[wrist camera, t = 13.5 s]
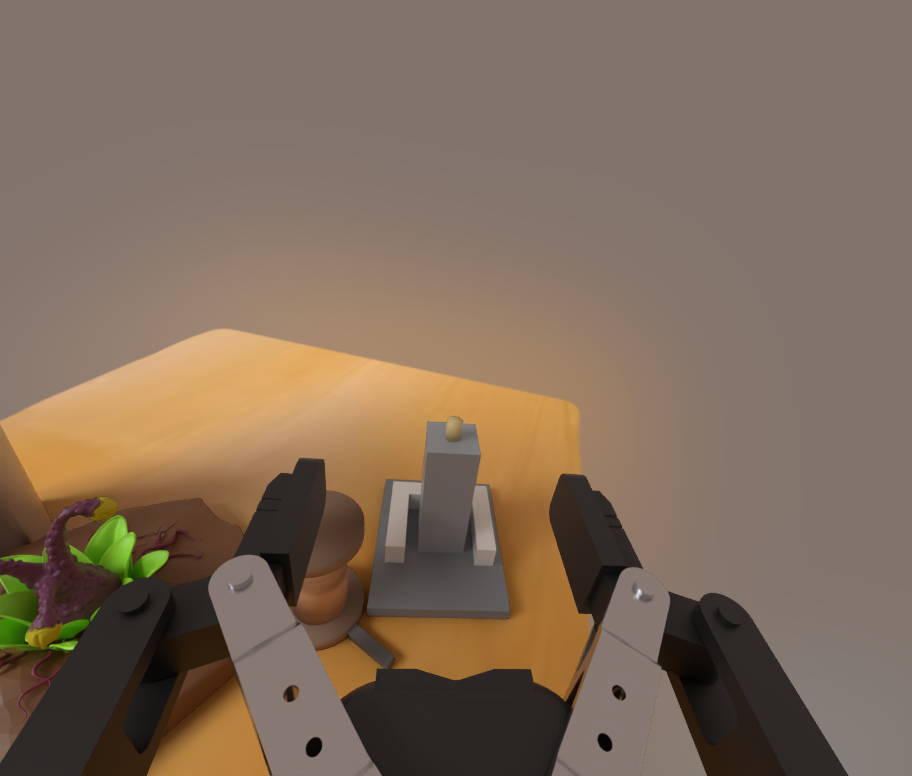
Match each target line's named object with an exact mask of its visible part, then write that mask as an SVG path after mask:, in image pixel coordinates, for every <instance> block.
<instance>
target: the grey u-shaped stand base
mask: <svg viewBox="0 0 912 776" xmlns="http://www.w3.org/2000/svg"><path fill="white" fill-rule="evenodd" d="M421 484H422V481H411V480H392V479H386V484H385V490H384V497H383V504H382V511H381V517H380V524H379V531H378V537H377V544H376V551H375V557H374V564H373V571H372V577H371V584H370V591H369V597H368V604H367V616H389V617H436V618H482V619H508V618H509V615H510V606H509V600H508V594H507V588H506V582H505V576H504V570H503V564H502V558H501V552H500V546H499V540H498V534H497V527H496V521H495V515H494V509H493V503H492V497H491V491H490V485H486V484H475V490H474V495H473V501H472V506H471V512H470V517H469V523H468V528H467V534H466V539H465V545H464V550H463V553H441V552H417V551H418V516H419V505H420V494H421Z"/></svg>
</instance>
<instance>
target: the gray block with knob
mask: <svg viewBox="0 0 912 776" xmlns="http://www.w3.org/2000/svg"><path fill="white" fill-rule="evenodd" d="M480 457H481V453H480V448H479V442H478V436H477V430H476V425H475V424H463V420H462V419H461V418H460V417H456V416H451V417H449V418H448V419H447V423H445V422H429V421H427V431H426V441H425V452H424V463H423V473H422V484H421V494H420V505H419V516H418V551H417V552H441V553H463V550H464V545H465V539H466V534H467V528H468V523H469V517H470V512H471V506H472V501H473V495H474V490H475V484H476V479H477V473H478V468H479V462H480Z"/></svg>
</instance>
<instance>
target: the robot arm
mask: <svg viewBox="0 0 912 776" xmlns="http://www.w3.org/2000/svg"><path fill="white" fill-rule="evenodd" d="M325 503H326V479H325V463H324V459H312V458H299V460H298V462H297V464H296V466H295V469H294V471H293V474H289V473H280V474H279V475H278V476H277V477H276V478H275V479H274V480H273V481H271V482H270V483H269V484H268V486H267V488H266V490H265V492H264V494H263V497H262V500H261V501H260V503H259V505H258V507H257V510H256V512H255V513H254V515H253V518H252V520H251V522H250V524H249V526H248V528H247V530H246V532H245V534H244V536H243V539H242V541H241V543H240V545H239V547H238V549H237V551H236V553H235V555H234V557H233V558H232V559H231V560H229V561H227V562H225V563H224V564H222V565H221V566H220V567H219V568H218V569H217V570H216V571H215V572H214V574H213V575H211V576H208V577H206V578H203V579H200V580H196V581H192V582H188V583H184V584H180V585H176V586H172V587H169V585H168V584H167V582H166V581H164V580H163V579H160V578H157V577H145V578H140V579H137V580H134V581H131V582H129V583H127V584H125V585H123V586H121V587H120V588H118V589H117V590H116V591H114V592H113V593H112V594H111V595H110V596H109V597H108V598H107V599H106V600H105V601H104V602H103V604H102V605H101V607H100V608H99V610H98V611H97V613H96V614H95V616H94V618H93V619H92V621H91V622H90V624H89V625H88V627H87V628H86V630H85V632H84V633H83V635H82V636H81V638H80V639H79V641H78V643H77V644H76V646H75V647H74V649H73V650H72V652H71V653H70V655H69V657H68V658H67V660H66V661H65V663H64V664H63V666H62V667H61V669H60V671H59V672H58V674H57V675H56V677H55V678H54V680H53V681H52V683H51V685H50V686H49V688H48V689H47V691H46V692H45V694H44V695H43V697H42V699H41V700H40V702H39V703H38V705H37V706H36V708H35V710H34V711H33V713H32V714H31V716H30V717H29V719H28V720H27V722H26V724H25V725H24V727H23V728H22V730H21V731H20V733H19V734H18V736H17V738H16V739H15V741H14V742H13V744H12V745H11V747H10V748H9V750H8V752H7V753H6V755H5V756H4V758H3V759H2V761H1V762H0V776H147V773H148V771H149V768H150V766H151V763H152V761H153V758H154V756H155V753H156V751H157V748H158V746H159V743H160V741H161V738H162V736H163V733H164V731H165V728H166V726H167V723H168V721H169V718H170V716H171V713H172V711H173V708H174V706H175V703H176V701H177V698H178V696H179V693H180V691H181V688H182V686H183V683H184V681H185V678H186V676H187V673H188V671H189V670H192V669H195V668H198V667H201V666H204V665H207V664H210V663H213V662H216V661H220V660H223V659H226V658H230V660H231V663H232V666H233V669H234V672H235V675H236V678H237V681H238V684H239V687H240V690H241V692H242V695H243V698H244V701H245V704H246V707H247V710H248V713H249V716H250V719H251V722H252V725H253V728H254V731H255V734H256V737H257V740H258V743H259V746H260V749H261V752H262V754H263V757H264V760H265V763H266V766H267V769H268V772H269V775H270V776H640V774H641V770H642V765H643V760H644V755H645V750H646V745H647V740H648V736H649V731H650V726H651V721H652V715H653V711H654V706H655V702H656V697H657V692H658V687H659V682H660V677H661V669H662V670H665V671H666V672H667V674H668V677H669V679H670V682H671V684H672V687H673V690H674V692H675V695H676V697H677V700H678V702H679V705H680V708H681V710H682V713H683V715H684V717H685V720H686V723H687V725H688V728H689V731H690V733H691V735H692V738H693V741H694V743H695V746H696V748H697V751H698V754H699V756H700V759H701V761H702V764H703V766H704V769H705V771H706V774H707V776H848V774H847V773H846V771H845V769H844V768H843V766H842V764H841V763H840V761H839V760H838V758H837V756H836V755H835V753H834V751H833V750H832V748H831V747H830V745H829V743H828V742H827V740H826V739H825V737H824V735H823V734H822V732H821V730H820V729H819V727H818V726H817V724H816V722H815V721H814V719H813V717H812V716H811V714H810V713H809V711H808V709H807V708H806V706H805V704H804V703H803V701H802V700H801V698H800V696H799V695H798V693H797V691H796V690H795V688H794V686H793V685H792V683H791V682H790V680H789V678H788V677H787V675H786V674H785V672H784V670H783V669H782V667H781V665H780V664H779V662H778V661H777V659H776V658H775V656H774V654H773V652H772V651H771V649H770V648H769V646H768V644H767V643H766V641H765V639H764V638H763V636H762V635H761V633H760V631H759V630H758V628H757V626H756V625H755V623H754V622H753V620H752V618H751V617H750V616H749V614H748V613H747V612H746V611H745V610H744V609H743V608H742V607H741V606H740V605H739V604H738V603H736V602H735V601H733V600H732V599H730V598H728V597H726V596H724V595H721V594H717V593H708V594H706V595H704V596H703V597H702V598H701V599H700V601H699V602H698V601H695V600H692V599H689V598H686V597H683V596H680V595H677V594H674V593H671V592H669V591H667V589H666V587H665V586H664V584H663V583H662V582H661V581H660V580H659V579H658V578H657V577H656V576H654V575H653V574H652V573H650V572H648V571H646V570H644V569H643V568H642V566H641V563H640V561H639V560H638V557H637V555H636V553H635V551H634V549H633V548H632V545H631V543H630V541H629V539H628V538H627V535H626V533H625V531H624V529H622V525H621V523H620V521H619V519H618V518H617V515H616V513H615V511H614V509H613V507H612V505H611V503H610V502H609V501H608V500H607V499H606V498H605V497H604V496H603V495H602V494H601V492H600V491H592V489H591V487H590V484H589V482H588V480H587V478H586V477H585V476H584V475H576V474H561V476H560V478H559V480H558V483H557V486H556V489H555V492H554V495H553V498H552V501H551V504H550V510H549V516H550V523H551V526H552V529H553V532H554V536H555V539H556V542H557V545H558V548H559V552H560V555H561V558H562V561H563V564H564V568H565V571H566V574H567V577H568V580H569V584H570V587H571V590H572V593H573V596H574V600H575V603H576V606H577V609H578V612H579V614H592V616H593V619H594V622H595V623H594V625H593V627H592V629H591V631H590V634H589V636H588V639H587V642H586V644H585V647H584V649H583V652H582V655H581V657H580V660H579V662H578V665H577V668H576V670H575V673H574V675H573V678H572V680H571V683H570V685H569V687H568V689H567V691H566V694H565V696H564V698H563V699H562V698H561V697H560V696H558V695H557V694H556V693H554V692H553V691H551V690H549V689H548V688H546V687H544V686H542V685H539V684H537V683H534V682H533V678H532V673H531V669H493V670H490V671H487V672H484V673H480V674H477V675H474V676H471V677H467V678H464V679H461V680H451V679H448V678H444V677H441V676H438V675H434V674H431V673H428V672H425V671H421V670H418V669H377V673H376V681H374V682H371V683H367V684H365V685H363V686H361V687H359V688H357V689H355V690H353V691H352V692H350V693H349V694H347V695H346V696H345V697H343V698H342V699H341V700H340V698H339V696H338V694H337V692H336V690H335V688H334V686H333V684H332V682H331V680H330V678H329V676H328V674H327V672H326V670H325V668H324V666H323V664H322V662H321V660H320V658H319V656H318V654H317V652H316V650H315V648H314V646H313V644H312V642H311V640H310V638H309V636H308V634H307V632H306V630H305V629H304V627H303V626H302V624H301V623H297V622H296V620H295V618H294V616H293V614H292V612H291V610H290V608H289V607H296V606H297V603H298V599H299V596H300V592H301V589H302V585H303V582H304V579H305V575H306V572H307V568H308V565H309V561H310V558H311V554H312V551H313V548H314V544H315V541H316V537H317V534H318V530H319V527H320V523H321V520H322V516H323V513H324V509H325ZM51 526H52V524H51V520H50V517H49V515H48V513H47V512H46V510H45V508H44V506H43V504H42V502H41V500H40V498H39V497H38V495H37V493H36V491H35V489H34V487H33V485H32V483H31V481H30V479H29V477H28V476H27V474H26V472H25V470H24V468H23V466H22V464H21V463H20V461H19V459H18V457H17V455H16V453H15V451H14V449H13V448H12V446H11V444H10V442H9V440H8V438H7V436H6V435H5V433H4V431H3V429H2V427H1V425H0V557H2V556H4V555H6V554H7V553H9V552H10V551H12V550H14V549H15V548H18V547H21V546H24V545H28V544H30V543H33V542H35V541H37V540H38V539H40V538H42V537H43V536H44V535H46V534H47V532H48V531H50V529H51Z"/></svg>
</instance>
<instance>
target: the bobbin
mask: <svg viewBox="0 0 912 776" xmlns="http://www.w3.org/2000/svg"><path fill="white" fill-rule="evenodd" d="M363 539H364V515H363V512H362V510H361V508H360V506H359V505H358V504H357V503H356V502H355V501H354V500H353V499H352V498H350V497H348V496H347V495H344V494H342V493H339V492H335V491H327V490H326V503H325V509H324V513H323V516H322V520H321V523H320V527H319V530H318V534H317V537H316V541H315V544H314V548H313V551H312V554H311V558H310V561H309V565H308V568H307V572H306V575H305V579H304V582H303V585H302V589H301V592H300V596H299V599H298V603H297V606H296V607H289V608H290V610H291V612H292V614H293V616H294V618H295V620H296V622H297V623H301V624H302V626H303V627H304V629H305V630H306V632H307V634H308V636H309V638H310V640H311V642H312V644H313V646H314V648H315V650H316V651H317V650H323V649H326V648H329V647H332V646H334V645H336V644H338V643H339V642H341V641H342V640H344V639H345V638H346V637H348V638H349V639H351V640H352V641H353V642H354V643H355V644H356V645H358V646H359V647H360V648H361V649H362V650H363V651H365V652H366V653H367V654H368V655H369V656H370V657H372V658H373V659H374V660H375V661H376V662H377V663H379V664H380V665H381V666H382V667H383V668H384V669H389V668H390V666H391V665H392V664H393V662H394V661H395V656H394V655H393V654H392V653H391V652H390V651H388V650H387V649H386V648H385V647H384V646H382V645H381V644H380V643H379V642H378V641H376V640H375V639H374V638H373V637H371V636H370V635H369V634H368V633H367V632H365V631H364V630H363V629H362V628H361V627H359V626H358V625H357V624H358V623H359V621H360V619H361V616H362V613H363V609H364V588H363V584H362V581H361V579H360V578H359V576H358V575H357V574H356V573H355V572H354V571H353V570H352V569H351V568H349V567H347V563H348V562H349V561H350V560H351V559H352V558H353V557H354V556H355V555H356V553H357V552H358V550H359V549H360V547H361V545H362V542H363Z"/></svg>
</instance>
